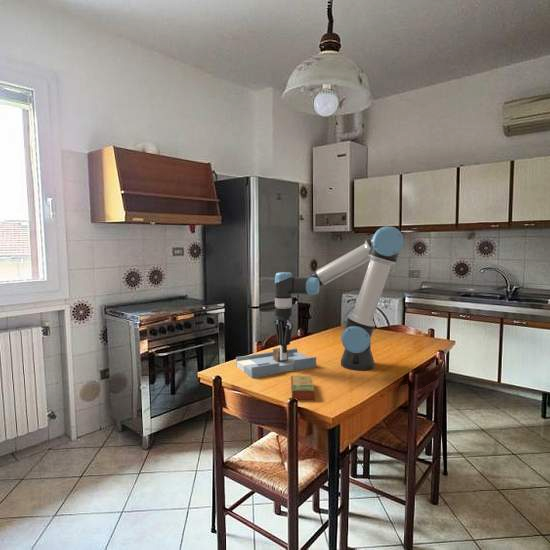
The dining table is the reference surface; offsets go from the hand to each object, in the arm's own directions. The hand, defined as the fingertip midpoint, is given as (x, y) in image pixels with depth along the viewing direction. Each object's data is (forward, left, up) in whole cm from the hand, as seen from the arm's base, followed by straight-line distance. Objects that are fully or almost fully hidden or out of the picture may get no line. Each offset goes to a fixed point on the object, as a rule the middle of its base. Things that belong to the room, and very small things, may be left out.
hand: (283, 359), depth 179 cm
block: (+4, -1, -2) cm, 4 cm away
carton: (-28, +7, -5) cm, 29 cm away
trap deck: (+5, +1, -5) cm, 7 cm away
